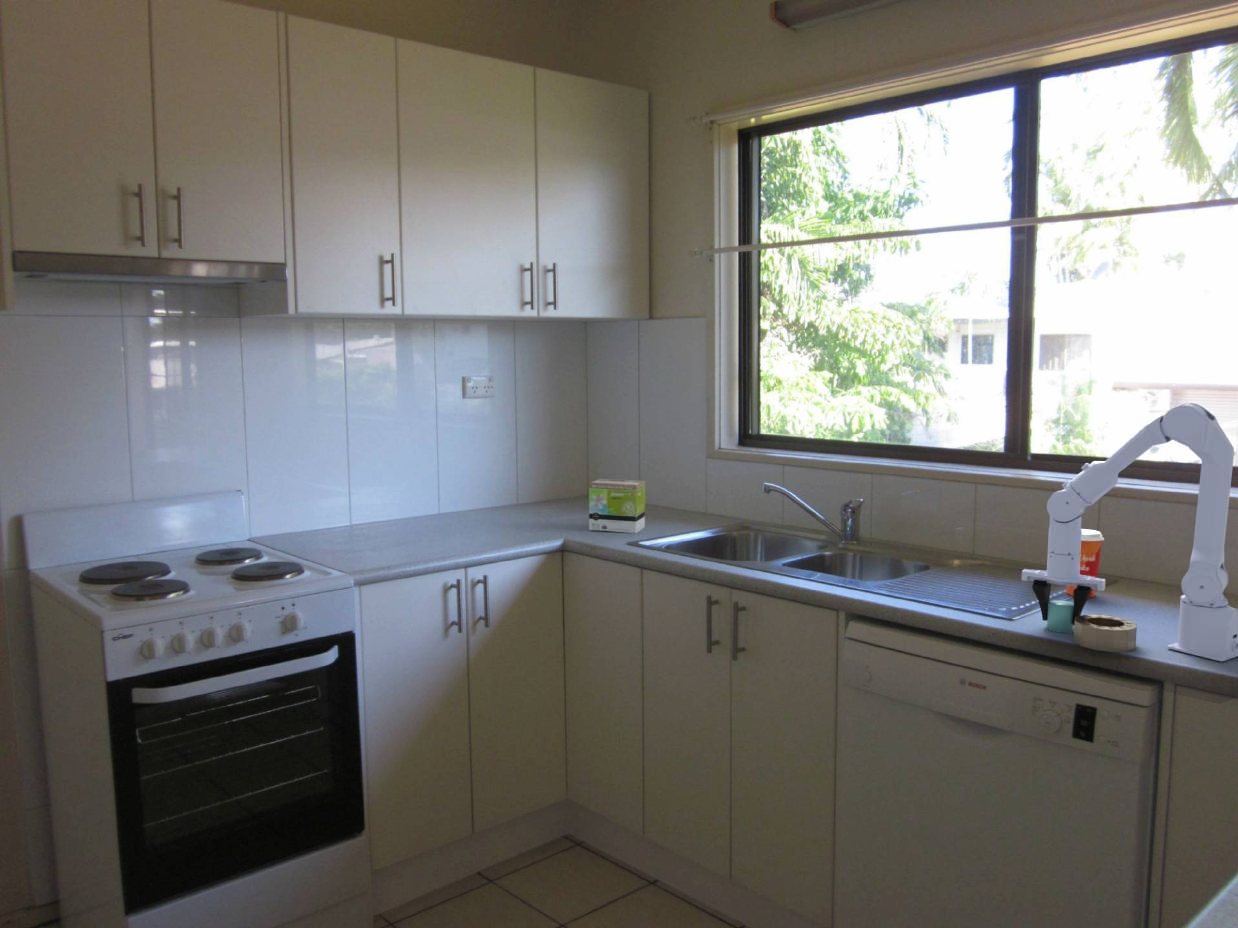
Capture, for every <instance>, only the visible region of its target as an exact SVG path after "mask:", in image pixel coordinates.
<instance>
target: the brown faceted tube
mask: <svg viewBox="0 0 1238 928" xmlns="http://www.w3.org/2000/svg"><path fill="white" fill-rule="evenodd" d="M1073 643H1075V644H1076V643H1077V644H1076V645H1079V646H1080V647H1083V648H1086V649H1091V650H1094V651H1100V652H1109V653H1127V651H1128V652H1131V651H1134V650H1136V646H1137V623H1136V622H1133V621H1132V620H1129V619H1127V618H1122V617H1119V616H1118V617H1117V616H1113V615H1104V614H1081V616H1078V617H1075V623H1074V631H1073ZM1130 650H1131V651H1130Z"/></svg>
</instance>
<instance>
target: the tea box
mask: <svg viewBox="0 0 1238 928" xmlns="http://www.w3.org/2000/svg"><path fill="white" fill-rule="evenodd" d="M645 524H646V481H645V480H635V479H634V480H633V479H632V480H631V479H617V478H616V479H615V478H614V479H613V478H597V479H596V480H593V481H592V482H588V529H589V531H602V532H603V531H605V532H612V533H614V532H616V533H628V534H637V533H639V532H640V531H642V530H643V529H644V528H645V526H646V525H645Z"/></svg>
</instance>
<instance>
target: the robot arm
mask: <svg viewBox="0 0 1238 928" xmlns="http://www.w3.org/2000/svg"><path fill="white" fill-rule="evenodd" d="M1171 441H1175V442H1177V443H1179V444H1181V445H1183V446H1186V447H1188V449H1189V450H1190V451H1192V452H1193V453H1194V454H1195V455H1196V456H1197V457H1198V458H1199V459H1200V460H1201V467H1200V476H1199V477H1200V478H1199V485H1198V486H1199V487H1198V497H1197V505H1196V507H1197V508H1196V516H1195V525H1194V526H1195V527H1194V534H1193V536H1194V537H1193V544H1192V545H1193V546H1192V550H1191V551H1192V552H1191V555H1190V561H1189V568H1188V571H1187V572H1186V573H1185V575H1183V577H1182V580H1181V582H1180V583H1181V591H1182V595H1180V603H1179V605H1180V606H1179V619H1178V620H1179V621H1178V636H1177V642H1175V643H1170V644H1168V645H1167V646H1166V648H1167V649H1168V650H1172V651H1178V652H1181V653H1186V654H1190V655H1193V656H1197V657H1201V658H1204V659H1205V658H1206V659H1210V660H1213V661H1218V662H1225V661H1227V660H1231V659H1234V658H1236V657H1238V608H1234V607H1232V606H1230V605H1229V600H1228V599H1227V598H1226V596H1225V595H1224V590H1225V589H1226V588H1227V586H1228V585H1229V574H1228V572H1227V570H1226V567H1225V541H1226V534H1227V533H1226V532H1227V525H1228V524H1227V523H1228V513H1229V503H1230V494H1231V485H1232V476H1233V475H1232V474H1233V466H1234V458H1235V457H1234V456H1235V449H1234V445H1233V444H1232V443H1231V441H1230V439H1229V438H1228V437H1227V435H1226V432H1224V429H1222V427H1221V425H1220V423H1219V422H1218V420H1217V418H1216V416H1215V415H1214V414H1213V413H1211V412H1210V411H1209V410H1207V408H1205V407H1203V406H1202V405H1199V404H1197V403H1194V402H1188V403H1187V402H1186V403H1182V404H1179V405H1177V406H1173V407H1172V408H1170V409H1169V410H1168V411H1167V412H1166V413H1165V414H1163V415H1161V416H1159V417H1157V418H1155V419H1153V420H1152V421H1151V422H1149V423H1148V424H1146V425H1144V426H1143V427H1142V428H1141V429H1139V430H1138V432H1137V433H1135V434H1134V435H1133V436H1132V437H1131V438H1129V440H1127V441H1126V442H1125V443H1124V444H1123V445H1122V446H1121V447H1119V449H1117V450H1116V451H1115V452H1114V453H1113V454H1112V455H1110V457H1108V458H1107V459H1106V460H1105V461H1104V460H1103V461H1102V460H1098V461H1097V460H1094V461H1092V462H1091V463H1089V462H1086V463H1084V465H1082V466H1081V468H1080V469H1081V470H1082V471H1080V472H1079V473H1078V474H1077V475H1076V476H1074V477H1073V478H1072V479H1071V480H1069V481H1068V480H1067V481H1065V482H1064V483H1062V485H1061V487H1062V488H1063V489H1061V490H1057V491H1055V492H1053V493H1052V495H1050V497H1049V498H1048V501H1047V503H1046V510H1047V513H1048V515H1049V526H1048V538H1047V539H1048V540H1047V541H1048V542H1047V558H1046V561H1047V562H1046V570H1039V569H1027V568H1024V569H1023V570H1021V581H1023V582H1024V581H1025V582H1028V581H1029V582H1030V581H1031V582H1033V584H1032V585H1031V588H1032V591H1033V593H1034V594H1035V597H1036V598H1037V603H1038V604H1039V609H1040V612H1041V617H1042V621H1044V622H1047V611H1048V602H1049V601H1050V600H1051V599H1050V598H1051V588H1052V584H1053V585H1060V586H1066V587H1067V586H1074V587H1077V588H1076V589H1075V590H1074V591H1073V594H1074V596H1073V603H1074V613H1073V625H1074V623H1075V617H1078V616H1082V613H1083V609H1084V607H1085V605H1086V603H1087V601H1088V599H1089V598H1088V597H1089V595H1090V594H1091V592H1092V590H1093V589H1096V591H1100V592H1103V591H1105V590H1106V579H1105V578H1099V577H1097V578H1095V577H1090V576H1085V575H1080V555H1081V534H1082V530H1081V529H1082V517H1083V516H1082V515H1083V514H1084V513H1085V512H1086V509H1087V507H1089V506H1092V505H1093V504H1095V503H1096V502H1097V501H1098V500H1099V499H1100V498H1102V497H1103V496H1104V495H1105V494H1107V493H1109V492H1110V490H1112V489H1113V488H1114V487H1116V486H1117V485H1118V482H1119V479H1118V477H1119V473H1120V472H1121V471H1123V470H1124V469H1126V468H1127V467H1128V466H1129V465H1131V464H1132V463H1133V462H1134V461H1136V460H1137V459H1139V457H1141V456H1142V455H1144V453H1146V452H1147V451H1148V450H1150V449H1151V448H1152V447H1154V446H1158V445H1159V446H1160V445H1162V444H1167V443H1169V442H1171Z"/></svg>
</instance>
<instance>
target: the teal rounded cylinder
mask: <svg viewBox="0 0 1238 928" xmlns="http://www.w3.org/2000/svg"><path fill="white" fill-rule="evenodd" d="M1073 613H1074V602H1072V601H1071V602H1070V601H1067V600H1049V602H1048V611H1047V621H1046V629H1047V628H1048V629H1051V630H1055V631H1059V632H1058V633H1061V632H1069V633H1074V625H1073ZM1048 629H1047V630H1048ZM1051 630H1050V631H1051ZM1055 631H1054V632H1055Z"/></svg>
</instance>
